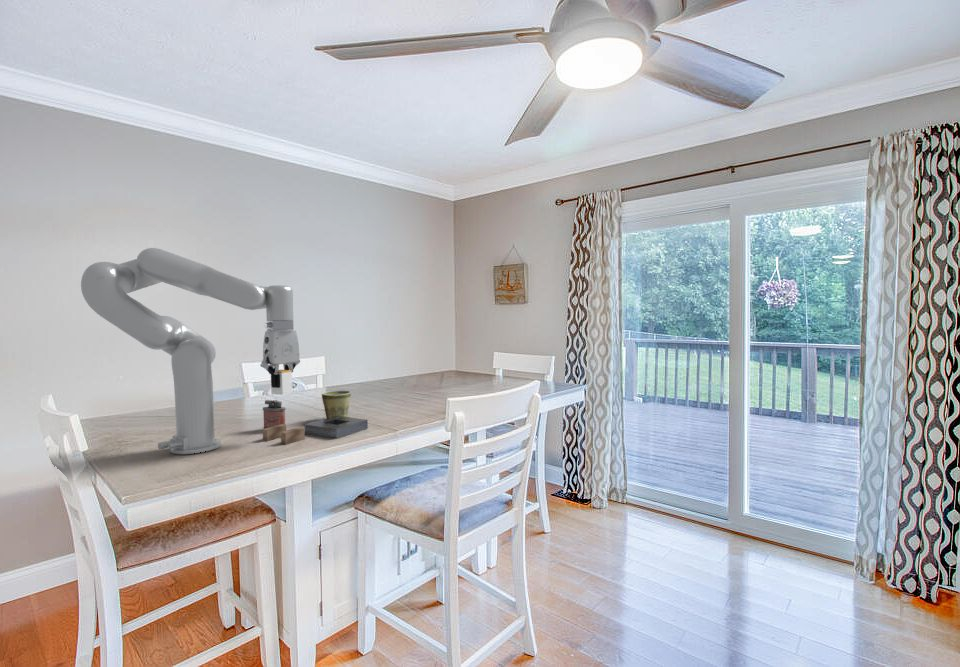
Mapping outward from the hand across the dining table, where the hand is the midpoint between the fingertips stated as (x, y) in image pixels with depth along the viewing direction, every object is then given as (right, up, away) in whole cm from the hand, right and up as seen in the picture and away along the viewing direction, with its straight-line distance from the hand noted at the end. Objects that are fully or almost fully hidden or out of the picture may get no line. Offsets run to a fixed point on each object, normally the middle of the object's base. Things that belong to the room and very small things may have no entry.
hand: (281, 385), depth 147 cm
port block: (+14, -16, +11) cm, 24 cm away
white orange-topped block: (0, -2, 0) cm, 2 cm away
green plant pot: (+9, -15, +28) cm, 33 cm away
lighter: (-8, -16, +13) cm, 22 cm away
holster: (0, -17, +1) cm, 17 cm away
